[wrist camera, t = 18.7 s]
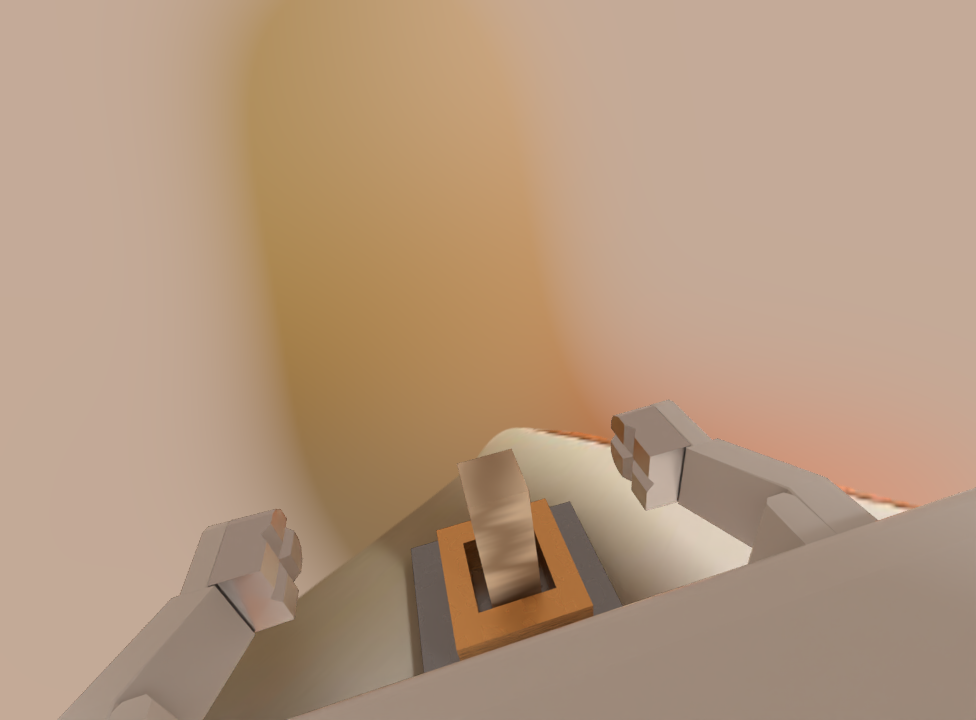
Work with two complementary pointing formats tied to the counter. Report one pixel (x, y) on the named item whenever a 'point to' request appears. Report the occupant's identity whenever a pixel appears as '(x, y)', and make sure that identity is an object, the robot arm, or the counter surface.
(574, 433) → the counter surface
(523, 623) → the socket base
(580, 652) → the robot arm
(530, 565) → the wedge pin
